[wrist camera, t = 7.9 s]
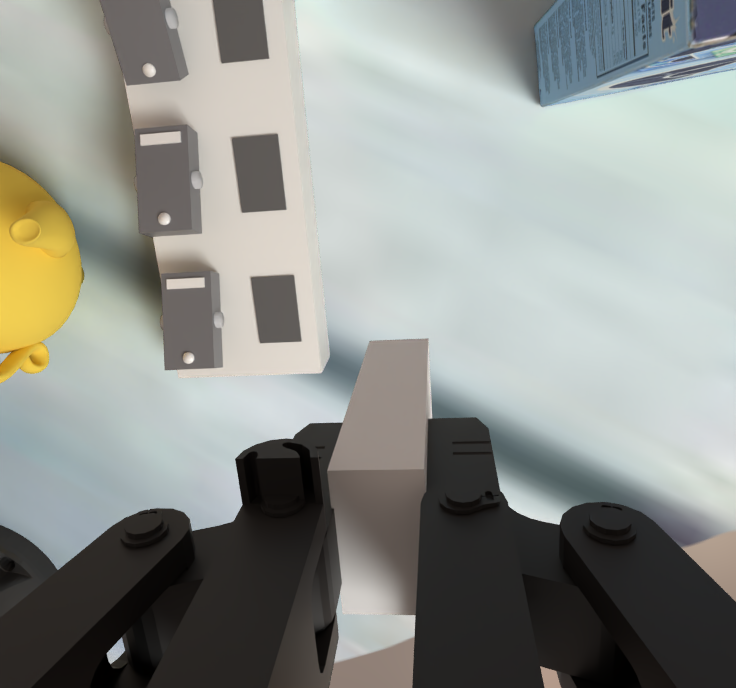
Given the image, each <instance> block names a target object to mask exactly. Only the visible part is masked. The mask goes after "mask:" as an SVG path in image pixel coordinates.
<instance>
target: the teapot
mask: <svg viewBox="0 0 736 688" xmlns="http://www.w3.org/2000/svg"><path fill="white" fill-rule="evenodd" d="M83 280H84V271H83V268H82V267H81V258H80V252H79V248H78V244H77V241H76V238H75V230H74V227H73V224H72V221H71V219H70V217H69V216H68V214H67V213H66V212H65V210H64V209H63V208H62V207H60V206H59V205H58V204H57V203H56V202H55V200H54V199H53V198H52V197H51V196H50V195H49V194H48V193H47V191H46V190H45V189H43V188H42V187H41V186H40V185H39V184H38V183H37V182H36V181H34V180H33V179H31V178H30V177H29V176H27V175H26V174H24V173H23V172H21V171H19V170H17V169H15V168H14V167H12V166H10V165H7V164H5V163H2V162H0V354H1V353H8V352H11V353H10V354H9V355H8V356H7V357H6V359H5V360H4V361H3V362H2V363H1V364H0V383H2V382H4V381H5V380H7V379H8V378H10V377H11V376H12V375H13V374H14V373H15V372H16V371H17V370H18V369H19V368H20V369H21V370H22V371H24V372H26V373H30V374H34V373H39V372H41V371H42V370H44V369H45V368H46V367H47V365H48V363H49V352H48V349H47V347H46V346H45V345H44V344H43V343H41V341H43V340H45V339H47V338H48V337H50V336H51V335H53V334H54V333H55V332H56V331H57V330H58V329H60V328H61V327H62V325H63V324H64V323H65V322H66V320H67V319H68V317H69V316H70V314H71V312H72V310H73V309H74V307H75V304H76V302H77V299H78V296H79V292H80V287H81V284H82V283H83Z"/></svg>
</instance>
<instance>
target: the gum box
mask: <svg viewBox="0 0 736 688" xmlns="http://www.w3.org/2000/svg"><path fill="white" fill-rule="evenodd" d="M534 32H535V42H536V55H537V67H538V81H539V94H540V104H541V107H545V106H550V105H555V104H560V103H566V102H571V101H576V100H581V99H587V98H592V97H597V96H602V95H607V94H613V93H617V92H622V91H627V90H632V89H637V88H642V87H647V86H652V85H657V84H662V83H667V82H673V81H678V80H683V79H688V78H693V77H698V76H703V75H708V74H714V73H719V72H724V71H729V70H735V69H736V0H556V2H555V3H554V4H553V5H552V6H551V7H550V9H549V10H548V11H547V12H546V13H545V14H544V15H543V17H542V18H541V19H540V20H539V21H538V22H537V23H536V24H535V26H534Z"/></svg>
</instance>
